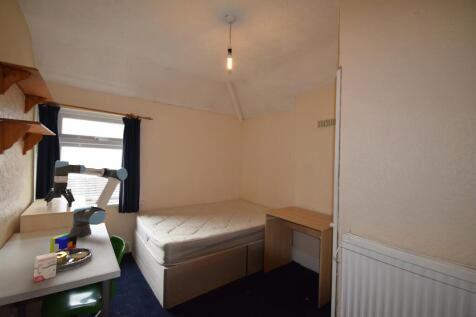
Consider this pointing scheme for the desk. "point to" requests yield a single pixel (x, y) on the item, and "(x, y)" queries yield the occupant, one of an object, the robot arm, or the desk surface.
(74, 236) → the puzzle toy
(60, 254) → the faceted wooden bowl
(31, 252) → the desk surface
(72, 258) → the carrier
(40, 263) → the ink box
